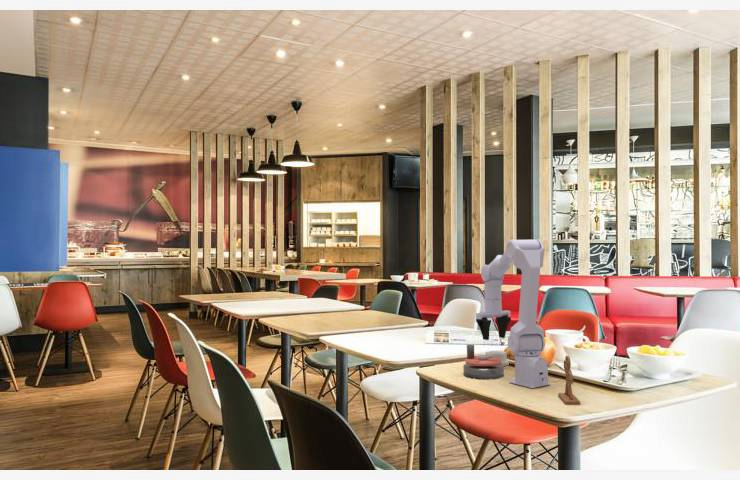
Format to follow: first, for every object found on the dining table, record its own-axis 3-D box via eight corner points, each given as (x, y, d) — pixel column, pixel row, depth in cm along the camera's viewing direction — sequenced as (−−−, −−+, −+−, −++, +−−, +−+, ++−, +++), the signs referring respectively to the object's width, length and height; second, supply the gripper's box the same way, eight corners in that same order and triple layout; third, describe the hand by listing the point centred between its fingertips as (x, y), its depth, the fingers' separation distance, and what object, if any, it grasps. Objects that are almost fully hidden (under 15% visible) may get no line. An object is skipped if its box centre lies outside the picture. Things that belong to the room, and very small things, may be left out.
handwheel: (507, 363, 185) (506, 345, 185) (492, 369, 176) (492, 350, 176) (474, 360, 192) (474, 342, 192) (459, 366, 182) (458, 347, 183)
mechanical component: (483, 361, 209) (480, 366, 199) (483, 349, 209) (480, 353, 199) (511, 362, 206) (509, 367, 196) (510, 350, 206) (509, 354, 196)
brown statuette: (580, 405, 146) (579, 358, 146) (565, 404, 146) (563, 358, 146) (572, 396, 154) (571, 352, 155) (558, 396, 155) (556, 352, 155)
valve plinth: (512, 375, 182) (512, 366, 182) (482, 381, 175) (482, 371, 175) (484, 369, 193) (484, 360, 193) (455, 374, 186) (455, 364, 186)
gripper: (499, 297, 201) (500, 335, 201) (469, 299, 193) (470, 339, 193) (514, 298, 195) (515, 337, 195) (483, 301, 187) (484, 341, 187)
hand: (494, 338), depth 193 cm, fingers open, 7 cm apart
